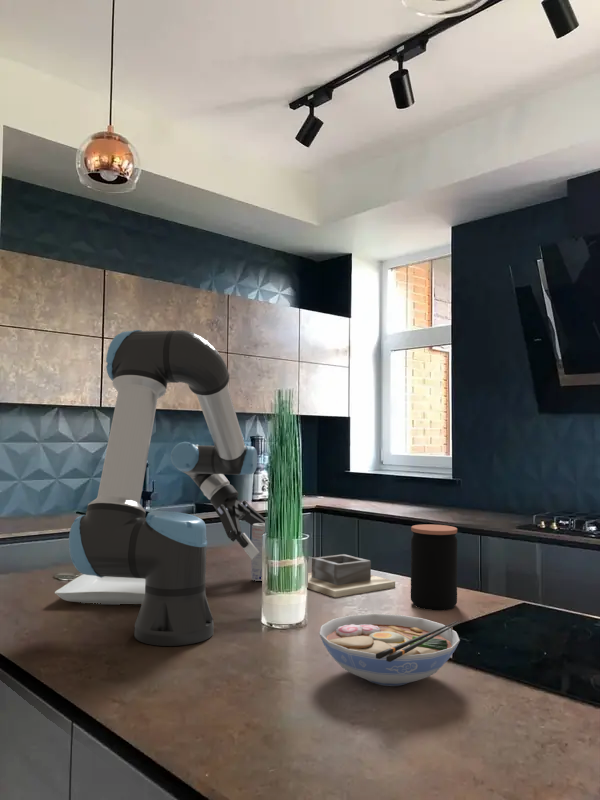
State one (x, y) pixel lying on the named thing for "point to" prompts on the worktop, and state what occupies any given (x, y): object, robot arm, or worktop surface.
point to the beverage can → (257, 534)
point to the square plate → (104, 590)
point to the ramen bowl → (389, 646)
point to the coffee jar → (434, 567)
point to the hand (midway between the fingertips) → (267, 551)
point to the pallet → (344, 576)
